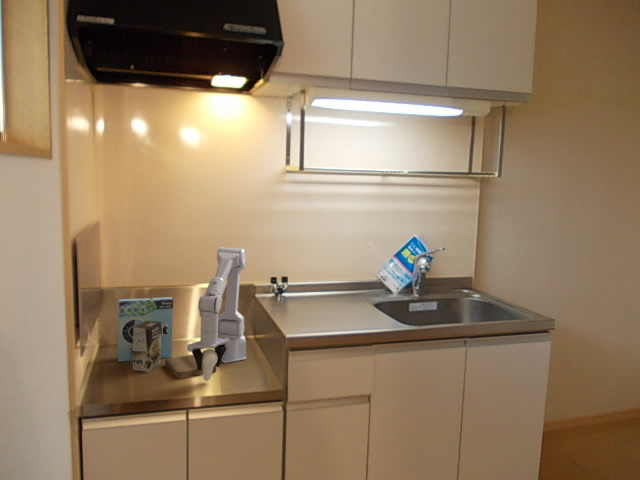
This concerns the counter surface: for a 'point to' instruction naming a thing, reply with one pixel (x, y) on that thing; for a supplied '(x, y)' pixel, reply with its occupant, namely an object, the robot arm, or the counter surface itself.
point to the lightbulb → (208, 363)
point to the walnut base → (184, 367)
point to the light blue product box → (137, 313)
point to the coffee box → (146, 346)
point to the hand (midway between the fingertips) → (208, 367)
